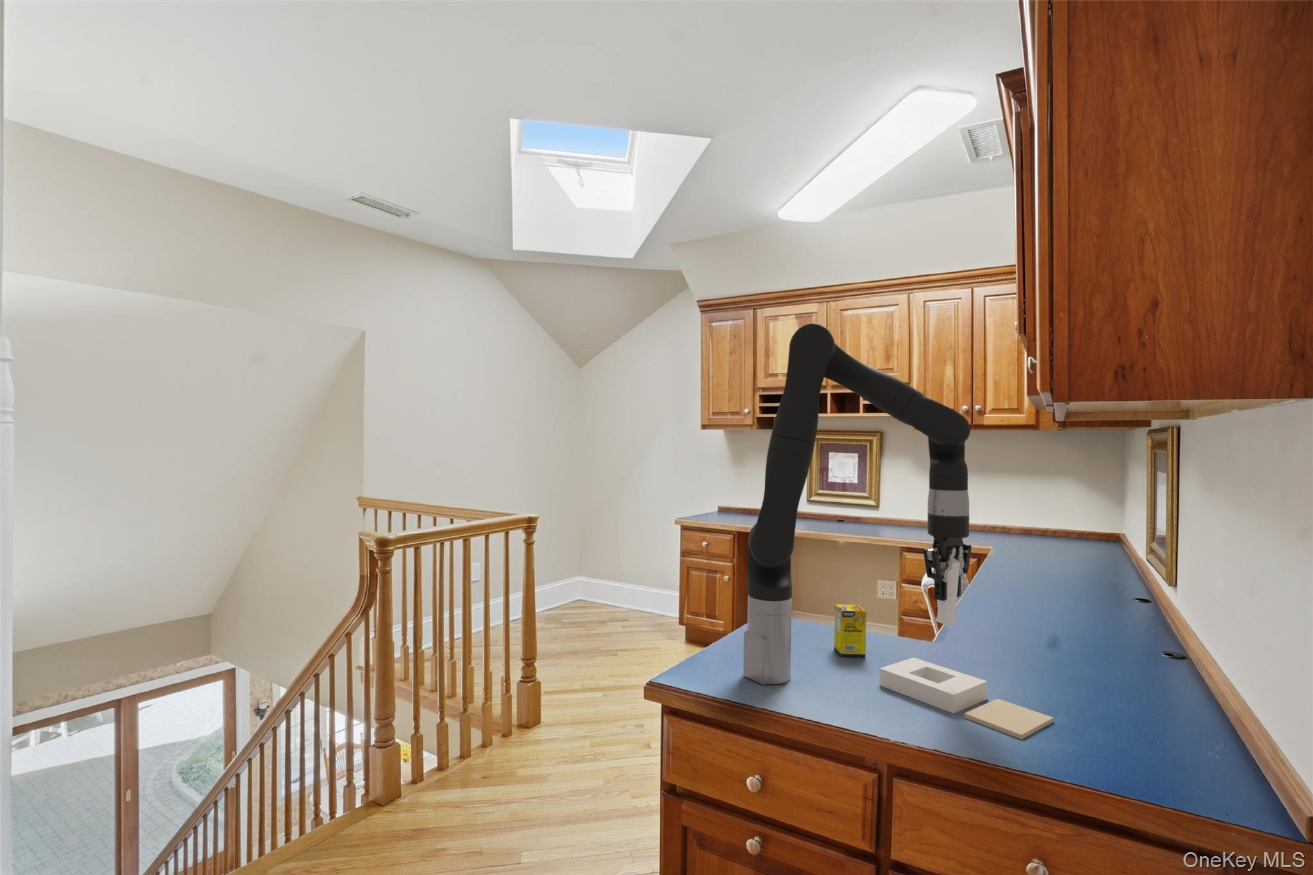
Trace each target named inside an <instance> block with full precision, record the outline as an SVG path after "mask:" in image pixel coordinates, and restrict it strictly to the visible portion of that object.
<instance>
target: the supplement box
mask: <svg viewBox="0 0 1313 875" xmlns="http://www.w3.org/2000/svg"><path fill="white" fill-rule="evenodd" d="M866 636H867V611H866V610H865V609H864V608H863V607H862V606H861V605H859V604H841V603H840V604H835V605H834V638H833V640H834V645H833V646H834V648H833V649H834V650H835V651H836V652H837V654H838V655H839V656H840V657H841V658H866V656H867V655H866V650H867V649H866V647H867V645H866V644H867V643H866V642H867V639H866V638H867V637H866Z"/></svg>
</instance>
